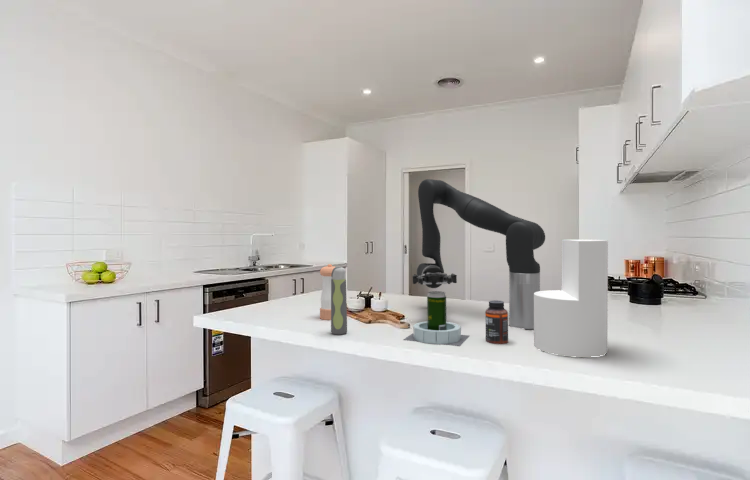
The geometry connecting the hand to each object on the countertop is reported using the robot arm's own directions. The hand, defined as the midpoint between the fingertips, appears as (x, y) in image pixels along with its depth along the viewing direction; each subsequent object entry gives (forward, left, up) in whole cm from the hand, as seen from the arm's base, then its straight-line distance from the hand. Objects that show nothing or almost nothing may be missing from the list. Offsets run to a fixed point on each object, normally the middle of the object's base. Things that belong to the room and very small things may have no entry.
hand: (435, 280), depth 131 cm
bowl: (-4, +12, -15) cm, 20 cm away
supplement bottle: (-20, +9, -15) cm, 27 cm away
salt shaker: (+39, -1, -15) cm, 42 cm away
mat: (-4, +12, -15) cm, 20 cm away
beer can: (-4, +12, -14) cm, 19 cm away
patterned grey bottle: (+25, +17, -15) cm, 34 cm away
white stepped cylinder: (-38, +7, -15) cm, 42 cm away
